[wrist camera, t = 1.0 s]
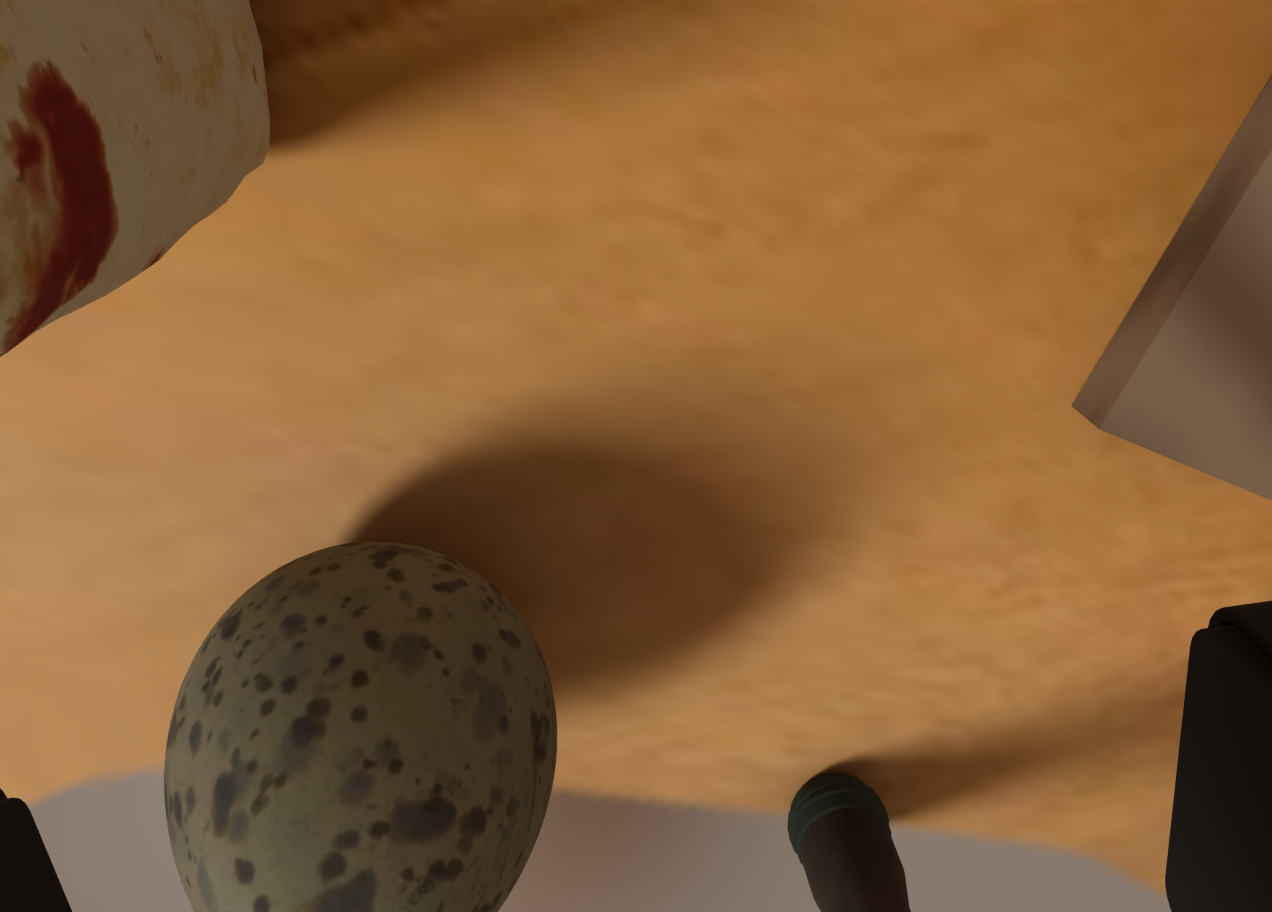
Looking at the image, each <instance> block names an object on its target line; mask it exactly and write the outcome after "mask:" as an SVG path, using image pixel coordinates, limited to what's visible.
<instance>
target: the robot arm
mask: <svg viewBox="0 0 1272 912" xmlns="http://www.w3.org/2000/svg"><path fill="white" fill-rule="evenodd" d="M1165 886H1166V892H1167V898H1168V901H1169V905H1170V908H1171V911H1172V912H1272V601H1266V602H1259V603H1252V604H1245V605H1238V606H1231V607H1224V608H1221V609H1219V610H1217V611H1215V613H1214V614H1213V616H1212V617H1211V619H1210V622H1209V626H1208V628H1206V629H1201V630H1199V631H1197V632H1196V633H1195V634H1194V636H1193V638H1192V641H1191V646H1190V653H1189V663H1188V672H1187V681H1186V691H1185V700H1184V709H1183V718H1182V728H1181V737H1180V746H1179V755H1178V765H1177V774H1176V783H1175V792H1174V802H1173V811H1172V820H1171V829H1170V839H1169V848H1168V857H1167V867H1166V876H1165ZM0 912H72V910H71V908H70V905H69V903H68V901H67V898H66V896H65V893H64V891H63V889H62V886H61V884H60V882H59V879H58V877H57V874H56V872H55V870H54V867H53V865H52V862H51V860H50V857H49V855H48V853H47V850H46V848H45V846H44V843H43V841H42V838H41V836H40V833H39V831H38V829H37V826H36V824H35V821H34V819H33V817H32V815H31V812H30V810H29V808H28V807H27V805H26V803H24V802H23V801H22V800H21V799H18V798H8V799H7V797H6V795H5V794H4V792H3V791H2V790H1V789H0Z"/></svg>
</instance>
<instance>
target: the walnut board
mask: <svg viewBox="0 0 1272 912" xmlns="http://www.w3.org/2000/svg"><path fill="white" fill-rule="evenodd" d="M1072 407H1074V408H1075V409H1076V410H1077V411H1078V412H1079V413H1081V414H1082V415H1083V416H1084V417H1085V418H1087V419H1088V420H1089V421H1090V422H1091V423H1093V424H1094V425H1095V426H1096V427H1097V428H1098V429H1101V430H1103V431H1105V432H1108V433H1110V434H1113V435H1115V436H1117V437H1120V438H1122V439H1125V440H1127V441H1130V442H1132V443H1134V444H1137V445H1139V446H1142V447H1144V448H1146V449H1149V450H1151V451H1154V452H1156V453H1158V454H1161V455H1163V456H1166V457H1168V458H1171V459H1173V460H1175V461H1178V462H1180V463H1183V464H1185V465H1187V466H1190V467H1192V468H1195V469H1197V470H1199V471H1202V472H1204V473H1207V474H1209V475H1212V476H1214V477H1216V478H1219V479H1221V480H1224V481H1226V482H1228V483H1231V484H1233V485H1236V486H1238V487H1240V488H1243V489H1245V490H1248V491H1250V492H1253V493H1255V494H1257V495H1260V496H1262V497H1265V498H1267V499H1269V500H1272V76H1271V77H1270V79H1269V81H1268V82H1267V84H1266V85H1265V87H1264V89H1263V90H1262V92H1261V94H1260V95H1259V97H1258V99H1257V100H1256V102H1255V104H1254V105H1253V107H1252V109H1251V110H1250V112H1249V114H1248V115H1247V117H1246V118H1245V120H1244V122H1243V123H1242V125H1241V127H1240V128H1239V130H1238V132H1237V133H1236V135H1235V137H1234V138H1233V140H1232V142H1231V143H1230V145H1229V147H1228V148H1227V150H1226V152H1225V153H1224V155H1223V156H1222V158H1221V160H1220V161H1219V163H1218V165H1217V166H1216V168H1215V170H1214V171H1213V173H1212V175H1211V176H1210V178H1209V180H1208V181H1207V183H1206V185H1205V186H1204V188H1203V189H1202V191H1201V193H1200V194H1199V196H1198V198H1197V199H1196V201H1195V203H1194V204H1193V206H1192V208H1191V209H1190V211H1189V213H1188V214H1187V216H1186V218H1185V219H1184V221H1183V223H1182V224H1181V226H1180V227H1179V229H1178V231H1177V232H1176V234H1175V236H1174V237H1173V239H1172V241H1171V242H1170V244H1169V246H1168V247H1167V249H1166V251H1165V252H1164V254H1163V256H1162V257H1161V259H1160V260H1159V262H1158V264H1157V265H1156V267H1155V269H1154V270H1153V272H1152V274H1151V275H1150V277H1149V279H1148V280H1147V282H1146V284H1145V285H1144V287H1143V289H1142V290H1141V292H1140V294H1139V295H1138V297H1137V298H1136V300H1135V302H1134V303H1133V305H1132V307H1131V308H1130V310H1129V312H1128V313H1127V315H1126V317H1125V318H1124V320H1123V322H1122V323H1121V325H1120V327H1119V328H1118V330H1117V331H1116V333H1115V335H1114V336H1113V338H1112V340H1111V341H1110V343H1109V345H1108V346H1107V348H1106V350H1105V351H1104V353H1103V355H1102V356H1101V358H1100V360H1099V361H1098V363H1097V364H1096V366H1095V368H1094V369H1093V371H1092V373H1091V374H1090V376H1089V378H1088V379H1087V381H1086V383H1085V384H1084V386H1083V388H1082V389H1081V391H1080V393H1079V394H1078V396H1077V398H1076V399H1075V401H1074V402H1073V404H1072Z"/></svg>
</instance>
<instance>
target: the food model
mask: <svg viewBox="0 0 1272 912" xmlns="http://www.w3.org/2000/svg"><path fill="white" fill-rule="evenodd" d="M269 143H270V114H269V105H268V96H267V86H266V79H265V70H264V61H263V52H262V44H261V41H260V38H259V34H258V31H257V27H256V24H255V21H254V17H253V14H252V10H251V7H250V2H249V0H0V356H2V355H4V354H5V353H7V352H8V351H10V350H11V349H12V348H14V347H15V346H16V345H18V344H19V343H21V342H22V341H23V340H25V339H26V338H27V337H29V336H30V335H31V334H33V333H34V332H36V331H38V330H39V329H41V328H43V327H44V326H46V325H48V324H50V323H51V322H53V321H55V320H56V319H58V318H60V317H62V316H65V315H67V314H70V313H72V312H73V311H75V310H77V309H79V308H81V307H83V306H85V305H87V304H89V303H91V302H93V301H95V300H97V299H99V298H101V297H103V296H105V295H107V294H109V293H110V292H112V291H113V290H115V289H117V288H118V287H120V286H121V285H123V284H125V283H126V282H128V281H129V280H131V279H132V278H134V277H136V276H137V275H139V274H140V273H141V272H143V271H144V270H146V269H147V268H148V267H150V266H151V265H153V264H154V263H156V262H157V261H158V260H160V259H161V258H162V257H163V256H164V255H165V253H166V252H167V251H168V250H169V249H170V248H171V247H172V246H173V245H174V244H175V243H176V242H177V241H178V240H179V239H180V238H181V237H182V236H183V235H184V234H185V233H186V232H187V231H188V230H190V229H191V228H192V227H193V226H194V225H195V224H197V223H198V222H200V221H201V220H203V219H204V218H206V217H207V216H209V215H210V214H212V213H213V212H214V211H216V210H217V209H218V208H219V207H221V206H222V205H223V204H224V203H226V202H227V201H228V199H229V198H230V197H231V195H232V194H233V193H234V191H235V190H236V189H237V187H238V186H239V184H240V183H241V181H242V180H243V178H244V177H245V176H246V175H247V174H249V173H250V172H252V171H253V170H255V169H256V168H258V167H259V166H260V165H262V164H263V162H264V159H265V156H266V154H267V151H268V148H269Z"/></svg>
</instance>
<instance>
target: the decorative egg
mask: <svg viewBox="0 0 1272 912" xmlns="http://www.w3.org/2000/svg"><path fill="white" fill-rule="evenodd" d="M556 754H557V718H556V710H555V702H554V696H553V691H552V686H551V681H550V678H549V674H548V671H547V667H546V664H545V662H544V659H543V657H542V654H541V651H540V649H539V647H538V645H537V643H536V640H535V639H534V637H533V635H532V633H531V632H530V630H529V628H528V627H527V625H526V623H525V622H524V620H523V618H522V617H521V616H520V614H519V613H518V611H517V610H516V609H515V607H514V606H513V605H512V604H511V603H510V602H509V600H508V599H507V598H506V597H505V596H504V595H503V594H502V593H501V592H500V591H499V590H498V589H497V588H496V587H495V586H494V585H493V584H491V583H490V582H489V581H488V580H487V579H485V578H484V577H483V576H481V575H480V574H478V573H477V572H476V571H474V570H473V569H471V568H470V567H468V566H467V565H465V564H463V563H461V562H460V561H458V560H456V559H453V558H451V557H449V556H446V555H444V554H442V553H439V552H437V551H434V550H431V549H428V548H425V547H421V546H416V545H411V544H404V543H398V542H389V541H365V542H357V543H349V544H342V545H337V546H333V547H329V548H325V549H322V550H318V551H315V552H313V553H310V554H308V555H305V556H303V557H300V558H297V559H295V560H293V561H292V562H290V563H288V564H286V565H284V566H282V567H280V568H278V569H277V570H275V571H273V572H272V573H270V574H269V575H267V576H266V577H264V578H263V579H261V580H260V581H259V582H257V583H256V584H255V585H254V586H252V587H251V588H250V589H248V590H247V591H246V592H245V593H244V594H243V595H242V596H241V597H240V598H239V599H238V600H237V601H236V602H235V603H234V604H233V605H232V606H231V607H230V608H229V609H228V610H227V611H226V612H225V613H224V614H223V616H222V617H221V618H220V619H219V620H218V622H217V623H216V624H215V625H214V627H213V628H212V630H211V631H210V633H209V634H208V636H207V637H206V638H205V640H204V641H203V643H202V645H201V647H200V648H199V650H198V652H197V653H196V655H195V657H194V659H193V661H192V663H191V665H190V667H189V669H188V672H187V674H186V676H185V678H184V681H183V683H182V685H181V688H180V691H179V694H178V697H177V700H176V703H175V707H174V711H173V715H172V719H171V723H170V728H169V732H168V739H167V747H166V755H165V769H164V795H165V808H166V819H167V825H168V832H169V837H170V842H171V847H172V851H173V855H174V859H175V863H176V867H177V870H178V873H179V876H180V879H181V882H182V885H183V887H184V890H185V892H186V895H187V897H188V899H189V901H190V904H191V905H192V908H193V910H194V912H498V910H499V909H500V908H501V906H502V905H503V903H504V902H505V900H506V899H507V897H508V896H509V894H510V892H511V891H512V889H513V887H514V885H515V884H516V882H517V880H518V878H519V877H520V874H521V873H522V871H523V869H524V867H525V864H526V862H527V860H528V858H529V856H530V854H531V852H532V849H533V846H534V845H535V842H536V840H537V838H538V835H539V831H540V829H541V826H542V823H543V820H544V817H545V814H546V810H547V807H548V803H549V799H550V794H551V790H552V785H553V779H554V772H555V765H556Z"/></svg>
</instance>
